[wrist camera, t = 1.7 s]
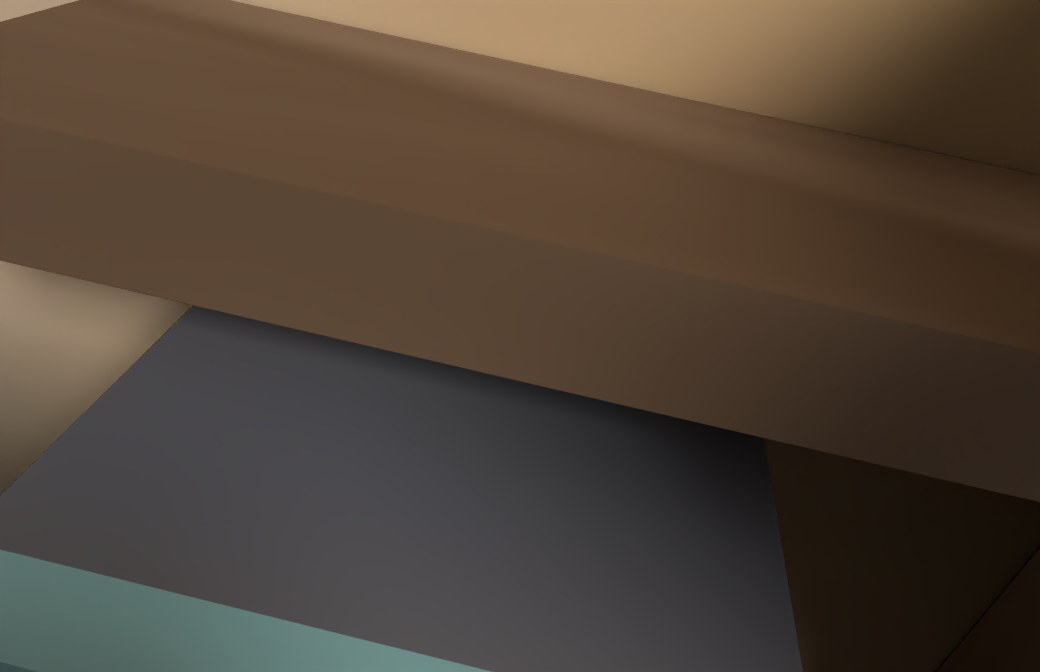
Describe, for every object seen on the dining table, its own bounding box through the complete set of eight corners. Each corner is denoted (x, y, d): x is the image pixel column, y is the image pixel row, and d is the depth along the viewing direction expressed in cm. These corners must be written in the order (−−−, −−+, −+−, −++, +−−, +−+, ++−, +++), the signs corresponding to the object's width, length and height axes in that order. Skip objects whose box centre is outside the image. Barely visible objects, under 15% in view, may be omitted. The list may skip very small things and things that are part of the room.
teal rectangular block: (599, 664, 12) (558, 1167, 8) (298, 590, 12) (81, 1036, 8) (740, 298, 8) (838, 875, 4) (300, 199, 9) (-135, 628, 4)
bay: (886, 816, 13) (950, 1096, 10) (213, 648, 14) (90, 869, 11) (1416, 256, 7) (1960, 560, 4) (144, -18, 7) (-193, 75, 4)
